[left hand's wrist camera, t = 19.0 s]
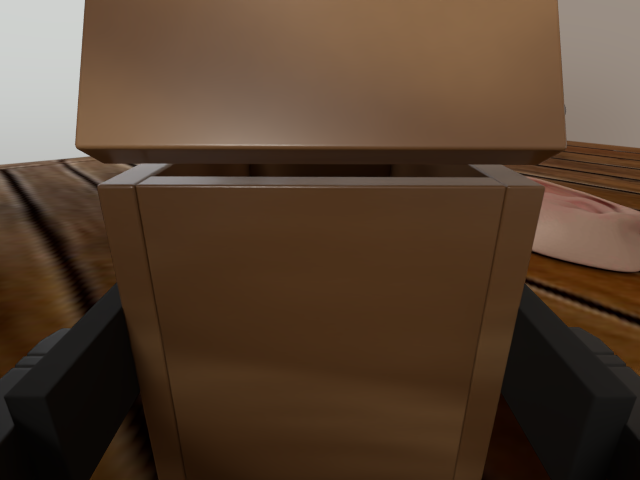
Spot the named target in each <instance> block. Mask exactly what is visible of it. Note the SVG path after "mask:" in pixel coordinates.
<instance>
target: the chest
mask: <svg viewBox="0 0 640 480" xmlns="http://www.w3.org/2000/svg"><path fill="white" fill-rule="evenodd" d="M97 190H98V195H99V199H100V204H101V209H102V214H103V218H104V223H105V228H106V233H107V237H108V242H109V247H110V252H111V256H112V261H113V266H114V271H115V275H116V280H117V285H118V289H119V294H120V299H121V304H122V308H123V313H124V318H125V323H126V327H127V332H128V337H129V341H130V346H131V351H132V355H133V360H134V365H135V369H136V374H137V379H138V383H139V388H140V394H141V398H142V403H143V408H144V413H145V417H146V422H147V427H148V432H149V436H150V441H151V446H152V451H153V455H154V460H155V465H156V470H157V474H158V479H159V480H481V479H482V475H483V470H484V466H485V461H486V457H487V452H488V448H489V443H490V438H491V434H492V429H493V425H494V420H495V416H496V411H497V407H498V402H499V397H500V393H501V387H502V382H503V378H504V373H505V369H506V364H507V359H508V355H509V350H510V346H511V341H512V336H513V332H514V327H515V322H516V318H517V313H518V309H519V306H520V302H521V297H522V293H523V288H524V283H525V279H526V274H527V270H528V265H529V261H530V256H531V252H532V247H533V242H534V238H535V233H536V229H537V224H538V220H539V215H540V210H541V206H542V201H543V197H544V192H545V186H543V185H541V184H539V183H537V182H535V181H533V180H531V179H529V178H527V177H525V176H523V175H521V174H519V173H517V172H515V171H513V170H511V169H509V168H507V167H505V166H503V165H444V164H140V165H138V166H136V167H134V168H132V169H129V170H127V171H125V172H123V173H121V174H119V175H117V176H115V177H113V178H111V179H109V180H107V181H105V182H103V183H101V184H99V185H98V186H97Z"/></svg>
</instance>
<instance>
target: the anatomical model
mask: <svg viewBox="0 0 640 480" xmlns="http://www.w3.org/2000/svg"><path fill="white" fill-rule="evenodd" d="M527 178H529V179H531V180H533V181H535V182H537V183H539V184H541V185H543V186H545V192H544V197H543V201H542V206H541V210H540V215H539V220H538V224H537V229H536V233H535V238H534V242H533V247H532V251H534V252H537V253H540V254H543V255H546V256H549V257H553V258H557V259H561V260H564V261H569V262H573V263H577V264H582V265H586V266H591V267H596V268H601V269H607V270H613V271H621V272H638V271H640V234H639V233H640V212H639V211H636V210H634V209H631V208H628V207H625V206H622V205H619V204H616V203H613V202H610V201H607V200H605V199H602V198H599V197H596V196H593V195H590V194H587V193H584V192H581V191H578V190H574V189H571V188H567V187H564V186H561V185H557V184H554V183H551V182H547V181H544V180H540V179H536V178H531V177H527Z"/></svg>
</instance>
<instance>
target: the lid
mask: <svg viewBox="0 0 640 480" xmlns="http://www.w3.org/2000/svg"><path fill="white" fill-rule="evenodd" d="M75 145H76V148H77V149H78V150H80V151H82V152H84V153H86V154H88V155H89V156H91V157H93V158H95V159H97V160H98V161H100V162H102V163H109V164H444V165H538V164H540V163H542V162H544V161H546V160H548V159H550V158H551V157H553V156H555V155H557V154H559V153H561V152H563V151H564V150H565V149H566V147H567V141H566V126H565V110H564V94H563V78H562V63H561V46H560V31H559V15H558V0H85V9H84V24H83V38H82V53H81V67H80V82H79V97H78V112H77V126H76V141H75Z"/></svg>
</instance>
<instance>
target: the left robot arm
mask: <svg viewBox="0 0 640 480" xmlns="http://www.w3.org/2000/svg"><path fill="white" fill-rule="evenodd" d="M139 392H140V388H139V383H138V379H137V374H136V369H135V365H134V360H133V355H132V351H131V346H130V341H129V337H128V332H127V327H126V323H125V318H124V313H123V308H122V304H121V299H120V294H119V289H118V285H117V283H116V284H115V285H114V286H113V287H112V288H111V289H110V290H109V291H108V292H107V293H106V294H105V295H104V296H103V297H102V298H101V299H100V300H99V301H98V302H97V303H96V304H95V305H94V306H93V307H92V308H91V309H90V310H89V311H88V312H87V313H86V314H85V315H84V316H83V317H82V318H81V319H80V320H79V321H78V322H77V323H76V324H75V325H74V326H73V327H72V328H71V329H60V330H58V331H57V332H55V333H53V334H51V335H50V336H48V337H46V338H45V339H43V340H41V341H40V342H39V343H38V344H37V345H36V346H35V347H34V348H33V349H32V350H31V351H30V352H29V353H28V354H27V357H23V358H22V359H21V360H20V361H19V362H18V363H17V364H16V365H15V368H12V369H11V370H10V371H9V372H7V373H6V374H5V375H4V376H3V377H2V378H1V379H0V480H34V479H35V480H89V479H90V478H91V476H92V474H93V472H94V471H95V469H96V467H97V465H98V464H99V462H100V460H101V458H102V457H103V455H104V453H105V451H106V450H107V448H108V446H109V444H110V443H111V441H112V439H113V437H114V436H115V434H116V432H117V430H118V429H119V427H120V425H121V423H122V422H123V420H124V418H125V416H126V415H127V413H128V411H129V409H130V408H131V406H132V404H133V403H134V401H135V399H136V397H137V396H138V394H139ZM501 393H502V395H503V396H504V398H505V400H506V402H507V403H508V405H509V407H510V409H511V410H512V412H513V414H514V416H515V417H516V419H517V421H518V423H519V424H520V426H521V428H522V430H523V431H524V433H525V435H526V437H527V438H528V440H529V442H530V444H531V445H532V447H533V449H534V451H535V452H536V454H537V456H538V458H539V459H540V461H541V463H542V464H543V466H544V468H545V470H546V471H547V473H548V475H549V477H550V478H551V480H606V478H607V479H608V480H640V377H639V376H638V375H637V374H636V373H635V372H634V371H633V370H632V369H631V368H630V367H626V364H625V363H624V362H623V361H622V360H621V359H620V358H619V357H618V356H617V355H614V352H613V351H612V350H611V349H610V348H608V347H607V346H606V345H605V344H604V343H603V342H602V341H601V340H600V339H599V338H597V337H595V336H593V335H592V334H590V333H588V332H586V331H585V330H583V329H581V328H580V327H567V326H566V325H565V324H564V323H563V322H562V320H561V319H560V318H559V317H558V316H557V315H556V314H555V313H554V312H553V311H552V310H551V309H550V308H549V307H548V306H547V305H546V304H545V303H544V302H543V301H542V300H541V299H540V298H539V297H538V296H537V295H536V294H535V293H534V292H533V291H532V290H531V289H530V288H529V287H528V286H527V285H526V284H525V283H524V288H523V293H522V297H521V302H520V306H519V309H518V313H517V318H516V322H515V327H514V332H513V336H512V341H511V346H510V350H509V355H508V359H507V364H506V369H505V373H504V378H503V382H502V387H501Z"/></svg>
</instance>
